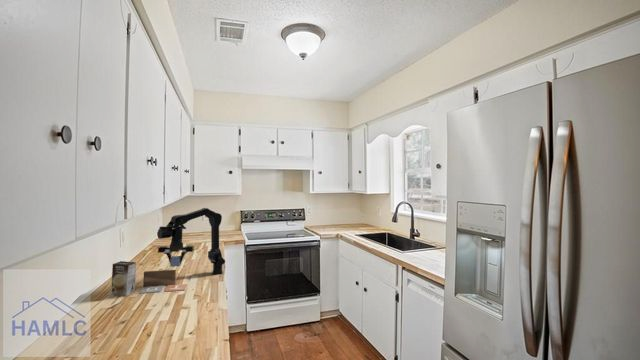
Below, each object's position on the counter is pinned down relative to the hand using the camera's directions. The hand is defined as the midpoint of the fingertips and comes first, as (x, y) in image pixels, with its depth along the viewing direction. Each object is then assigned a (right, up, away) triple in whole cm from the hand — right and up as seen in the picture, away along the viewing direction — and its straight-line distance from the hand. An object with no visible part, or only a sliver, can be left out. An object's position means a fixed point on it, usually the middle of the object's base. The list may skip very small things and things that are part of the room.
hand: (175, 263), depth 179 cm
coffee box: (-18, -11, -20) cm, 29 cm away
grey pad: (-7, -11, -13) cm, 18 cm away
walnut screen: (-7, -11, -5) cm, 14 cm away
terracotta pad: (+5, -11, -10) cm, 15 cm away
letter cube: (0, -1, 0) cm, 1 cm away
